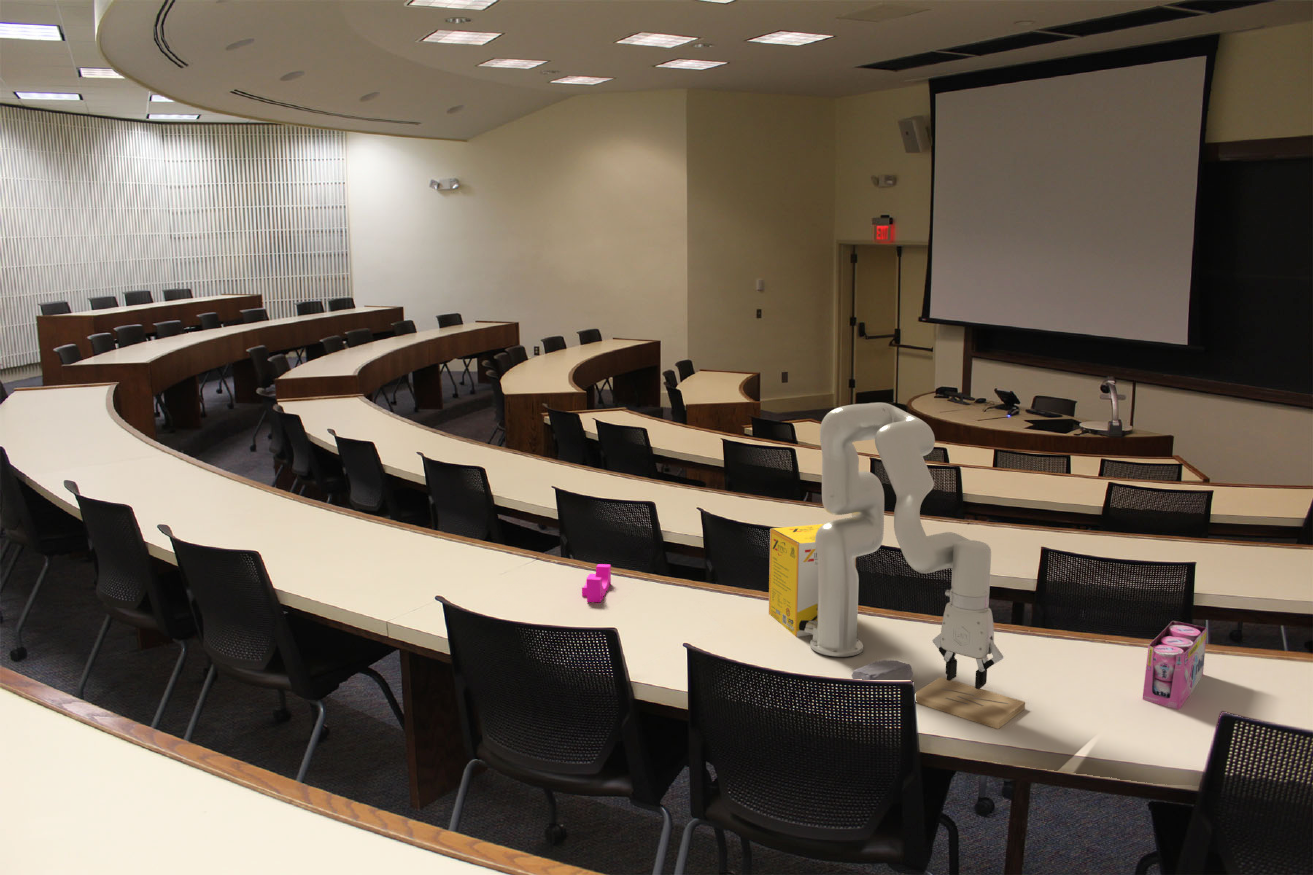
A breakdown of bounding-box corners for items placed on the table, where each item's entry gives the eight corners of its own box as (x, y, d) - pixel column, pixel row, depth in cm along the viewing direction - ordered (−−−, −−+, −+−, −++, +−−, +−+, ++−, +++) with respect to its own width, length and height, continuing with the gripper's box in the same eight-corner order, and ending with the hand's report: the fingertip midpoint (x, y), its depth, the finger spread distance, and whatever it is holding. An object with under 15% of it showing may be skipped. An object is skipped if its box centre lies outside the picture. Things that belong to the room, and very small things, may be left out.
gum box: (1178, 714, 199) (1183, 655, 197) (1139, 704, 203) (1144, 646, 201) (1203, 681, 215) (1208, 627, 213) (1167, 672, 220) (1171, 619, 218)
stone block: (886, 650, 220) (916, 665, 211) (886, 670, 221) (915, 686, 212) (844, 659, 215) (873, 675, 206) (844, 679, 215) (872, 696, 207)
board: (911, 701, 204) (911, 694, 204) (940, 683, 214) (940, 676, 213) (998, 728, 191) (998, 721, 191) (1024, 708, 201) (1025, 701, 201)
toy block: (589, 588, 282) (589, 563, 281) (610, 589, 281) (610, 564, 280) (578, 604, 267) (577, 578, 266) (600, 605, 266) (600, 579, 265)
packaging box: (823, 613, 260) (825, 523, 256) (853, 633, 244) (856, 538, 241) (768, 620, 255) (770, 528, 251) (796, 641, 239) (798, 543, 236)
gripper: (923, 595, 203) (919, 676, 205) (1001, 614, 191) (997, 700, 194) (939, 587, 208) (936, 667, 211) (1017, 605, 196) (1012, 689, 199)
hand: (965, 681), depth 202 cm, fingers open, 5 cm apart
